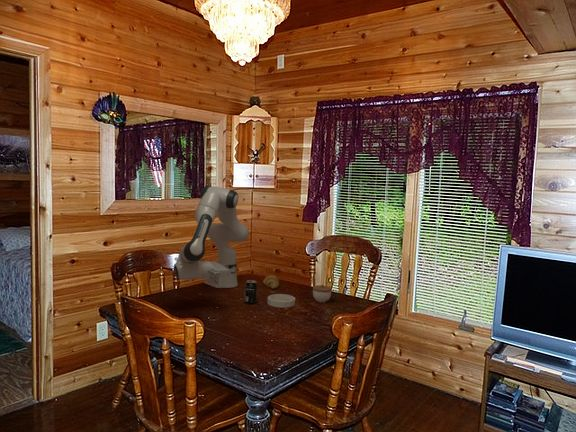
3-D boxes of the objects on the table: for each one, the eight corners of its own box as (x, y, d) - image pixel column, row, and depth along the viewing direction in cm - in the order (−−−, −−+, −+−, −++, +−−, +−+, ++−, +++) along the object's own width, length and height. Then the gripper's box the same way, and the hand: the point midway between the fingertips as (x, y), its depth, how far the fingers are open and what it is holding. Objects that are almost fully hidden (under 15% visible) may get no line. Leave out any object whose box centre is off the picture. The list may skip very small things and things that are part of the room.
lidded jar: (324, 305, 233) (325, 288, 232) (308, 300, 239) (309, 284, 238) (334, 301, 241) (335, 285, 240) (318, 297, 248) (319, 281, 247)
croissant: (278, 295, 260) (284, 284, 260) (264, 288, 258) (270, 277, 258) (272, 285, 281) (278, 275, 281) (259, 279, 278) (265, 268, 278)
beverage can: (250, 300, 236) (251, 279, 235) (259, 302, 231) (260, 281, 230) (241, 302, 230) (242, 281, 229) (250, 305, 226) (251, 283, 225)
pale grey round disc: (262, 303, 231) (262, 298, 230) (278, 297, 243) (278, 292, 242) (284, 309, 222) (284, 303, 222) (300, 303, 234) (300, 297, 234)
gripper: (212, 267, 207) (238, 266, 214) (200, 260, 225) (224, 258, 232) (212, 280, 208) (238, 278, 214) (200, 271, 226) (224, 270, 232)
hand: (231, 268), depth 223 cm, fingers open, 8 cm apart
